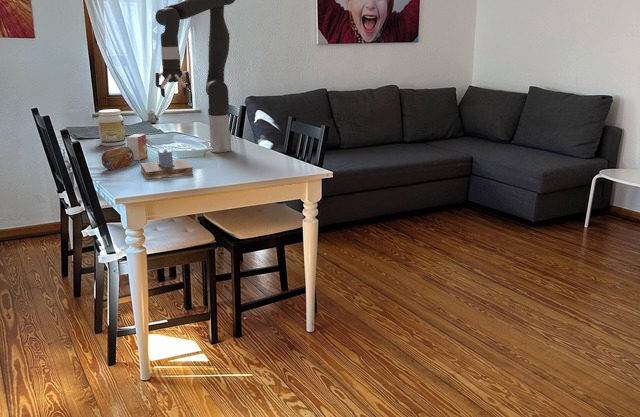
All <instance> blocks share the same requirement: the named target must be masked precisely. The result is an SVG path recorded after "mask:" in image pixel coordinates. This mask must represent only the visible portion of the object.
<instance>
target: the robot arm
mask: <svg viewBox="0 0 640 417" xmlns="http://www.w3.org/2000/svg"><path fill="white" fill-rule="evenodd" d="M235 1H236V0H182V1H180V2H178V3H176V4H175V3H174V4H171V5H167V6H164V7H161V8H159V9H158V10H157V11H156V13H155V18H154V19H155V20H156V22H157V24H159V25H160V26H164V30H163V32H161V34H160V46H161V48H160V50H161V51H160V52H161V53H160V54H161V56H160V57H161V63H162V65H161V66H162V71H161V72H155V76H154V78H155V80H154V81H155V87H157V88H159V90H160V95H161V97H162V98H166V94H165V93H166V91H165V86H166V85H167V84H168V83H169V84H170V83H179V84H180V86H182V87H181V91H182V96H183V97H186V95H187V87H188V86H191V79H190V73H189V71H188V70H186V71H182V69H181V55H180V54H181V53H180V49H179V38H178V35H179V31H180V24H181V20H186V19H190V18H192V17H193V16H196V15H198V14H199V15H200V14H202V13H204V12H206V11H209V36H208V70H207V78H206V85H205V92H206V94H207V96H208V98H207V99H208V109H207V115H208V131H209V147H212V148H213V149H212V150H211V149H210V152H213V153H226V152H231V151H232V136H231V134H232V133H231V130H230V123H229V122H230V121H229V109H230V107H229V106H230V104H229V87H228V85H227V84H226V83H225V68H226V64H227V60H228V56H229V52H230V51H229V50H230V40H231V39H230V32H229V29H228V26H227V24H226V21H225V16H224V14H225V6H229V5H230V6H231V5H232V4H234V3H235ZM182 76H183V77H185V82H184V81H183V80H182V79H181V78H182ZM161 77H163V78H164V79H163V81H162V82H161V84H160V78H161Z"/></svg>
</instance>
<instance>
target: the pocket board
mask: <svg viewBox="0 0 640 417" xmlns="http://www.w3.org/2000/svg"><path fill="white" fill-rule="evenodd" d="M172 160H173V159H172ZM140 170H141V172H142V174H143V173H144V174H143V175H144V177H145V176H146V177H145V178H147V179H146V180H151V179H150V178H157V179H160V178H159V177H166V178H170V177H169V176H175V177H182V176H181V175H185V176H192V175H193V174H194V172H193V167H192V165H191V164H190V163H188V162H187V161H186V159H184V158H183V159H182V158H181V159H174V160H173V167H171V168H160V166H159V161H151V162H141V163H140Z"/></svg>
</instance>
